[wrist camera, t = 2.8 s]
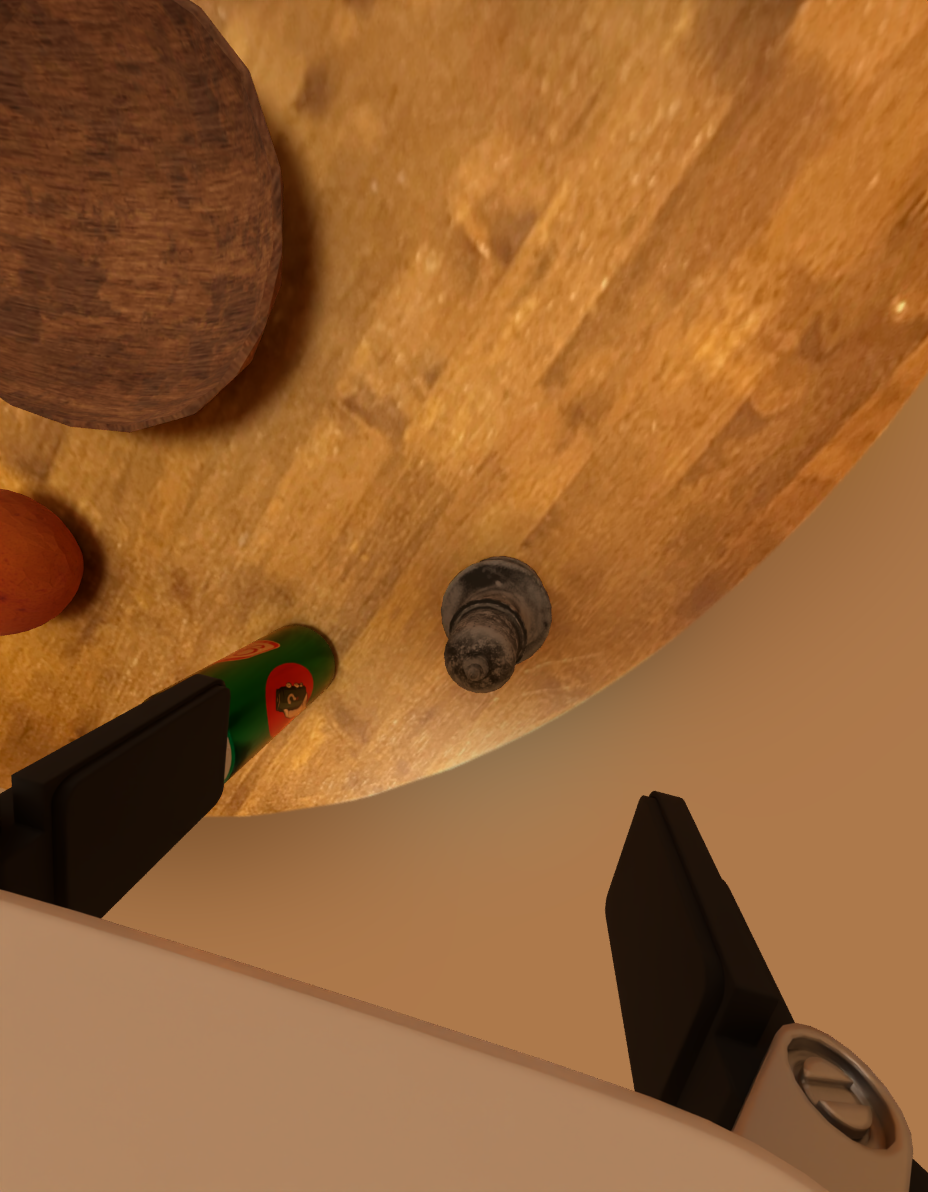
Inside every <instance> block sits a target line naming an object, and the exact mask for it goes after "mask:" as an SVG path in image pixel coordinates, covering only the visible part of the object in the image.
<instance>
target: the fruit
mask: <svg viewBox="0 0 928 1192" xmlns="http://www.w3.org/2000/svg"><path fill="white" fill-rule="evenodd" d="M83 569H84V565H83V555H82V552H81V550H80V547H79V546H78V544H77V542H76V540H75V538H74V537H73V535H72V533H71V532H70V530H69V529H68V528H67V527H66V526H65V524H64V523H63V522H62V521H61V520H60V518H59V517H57V516H56V515H55V514H54V513H53V512H51V511H50V510H49V509H47V508H46V507H45V506H43V505H42V504H40V503H38V502H36V501H35V500H33V499H31V498H29V497H27V496H24V495H22V494H18V493H15V492H12V491H9V490H3V489H0V636H3V635H10V634H17V633H21V632H25V631H28V630H31V629H33V628H36V627H39V626H41V625H43V624H45V623H46V622H48V621H49V620H51V619H53V618H55V617H56V616H57V615H59V614H60V613H61V612H62V611H63V610H64V609H65V608H66V606H67V605H68V604H69V603H70V602H71V601H72V599H73V598H74V596H75V594H76V592H77V590H78V588H79V586H80V583H81V579H82V576H83Z"/></svg>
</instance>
